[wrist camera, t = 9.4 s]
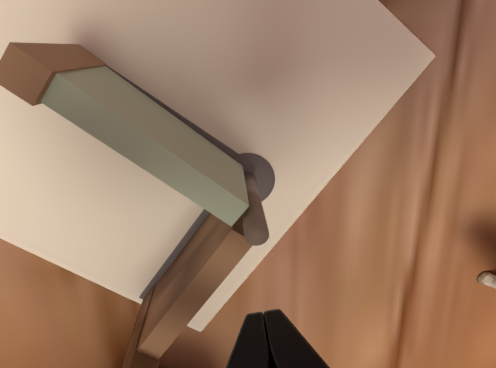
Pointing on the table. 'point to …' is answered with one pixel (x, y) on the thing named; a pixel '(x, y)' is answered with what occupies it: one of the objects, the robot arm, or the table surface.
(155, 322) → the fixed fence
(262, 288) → the table surface
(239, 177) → the swing panel
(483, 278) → the bull figurine
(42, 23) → the card
